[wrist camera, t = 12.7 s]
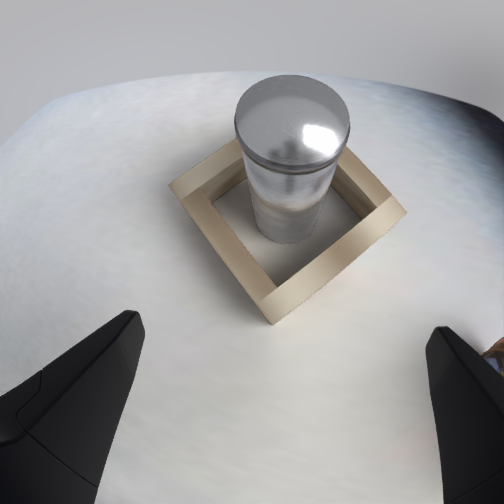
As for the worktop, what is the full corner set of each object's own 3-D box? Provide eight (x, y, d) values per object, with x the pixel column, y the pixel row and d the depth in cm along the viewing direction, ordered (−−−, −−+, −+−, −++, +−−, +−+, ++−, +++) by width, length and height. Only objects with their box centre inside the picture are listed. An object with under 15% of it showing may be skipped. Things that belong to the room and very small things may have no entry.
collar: (272, 325, 20) (272, 325, 17) (180, 202, 22) (168, 185, 19) (392, 227, 21) (407, 212, 18) (295, 125, 23) (297, 101, 20)
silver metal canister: (260, 251, 21) (243, 172, 10) (248, 190, 22) (225, 82, 12) (325, 238, 21) (368, 153, 10) (310, 179, 22) (330, 69, 11)
